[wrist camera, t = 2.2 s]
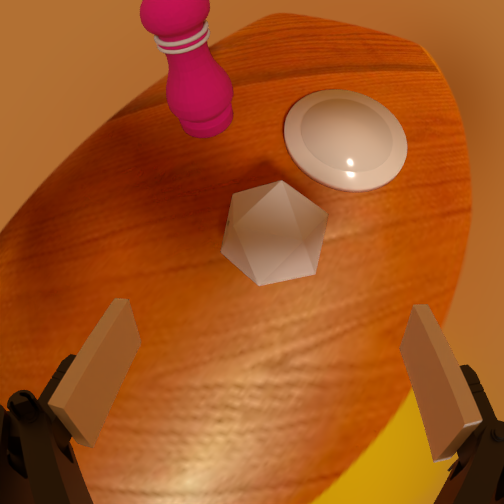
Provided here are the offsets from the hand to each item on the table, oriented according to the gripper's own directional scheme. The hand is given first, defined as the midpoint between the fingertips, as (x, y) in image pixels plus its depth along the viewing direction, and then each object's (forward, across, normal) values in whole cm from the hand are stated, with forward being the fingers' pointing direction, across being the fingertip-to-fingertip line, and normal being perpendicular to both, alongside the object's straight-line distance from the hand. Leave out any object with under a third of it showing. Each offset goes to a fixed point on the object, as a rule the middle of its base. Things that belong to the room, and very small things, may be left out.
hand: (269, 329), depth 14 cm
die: (+16, 0, -4) cm, 17 cm away
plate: (+26, +8, +5) cm, 27 cm away
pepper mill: (+28, -8, +7) cm, 30 cm away
